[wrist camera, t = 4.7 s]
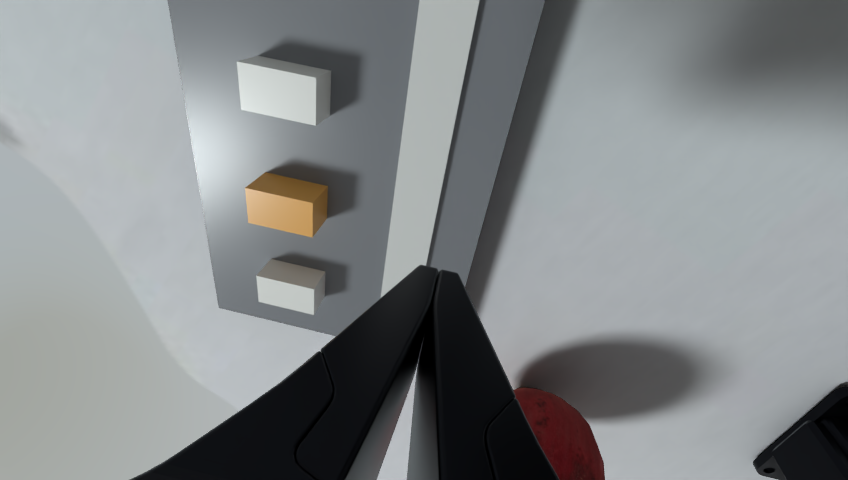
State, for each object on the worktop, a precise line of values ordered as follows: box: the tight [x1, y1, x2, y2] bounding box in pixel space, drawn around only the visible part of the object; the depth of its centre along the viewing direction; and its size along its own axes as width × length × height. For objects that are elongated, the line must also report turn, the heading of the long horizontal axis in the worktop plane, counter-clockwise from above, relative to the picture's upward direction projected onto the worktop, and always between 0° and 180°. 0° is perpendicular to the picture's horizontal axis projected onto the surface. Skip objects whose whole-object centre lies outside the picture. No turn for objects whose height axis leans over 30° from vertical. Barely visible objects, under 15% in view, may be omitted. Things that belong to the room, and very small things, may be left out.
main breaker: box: [245, 172, 328, 238], centre depth 15 cm, size 2×1×1 cm, turn 80°
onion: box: [513, 387, 605, 480], centre depth 17 cm, size 6×6×8 cm
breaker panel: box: [168, 0, 545, 356], centre depth 14 cm, size 11×18×2 cm, turn 170°
